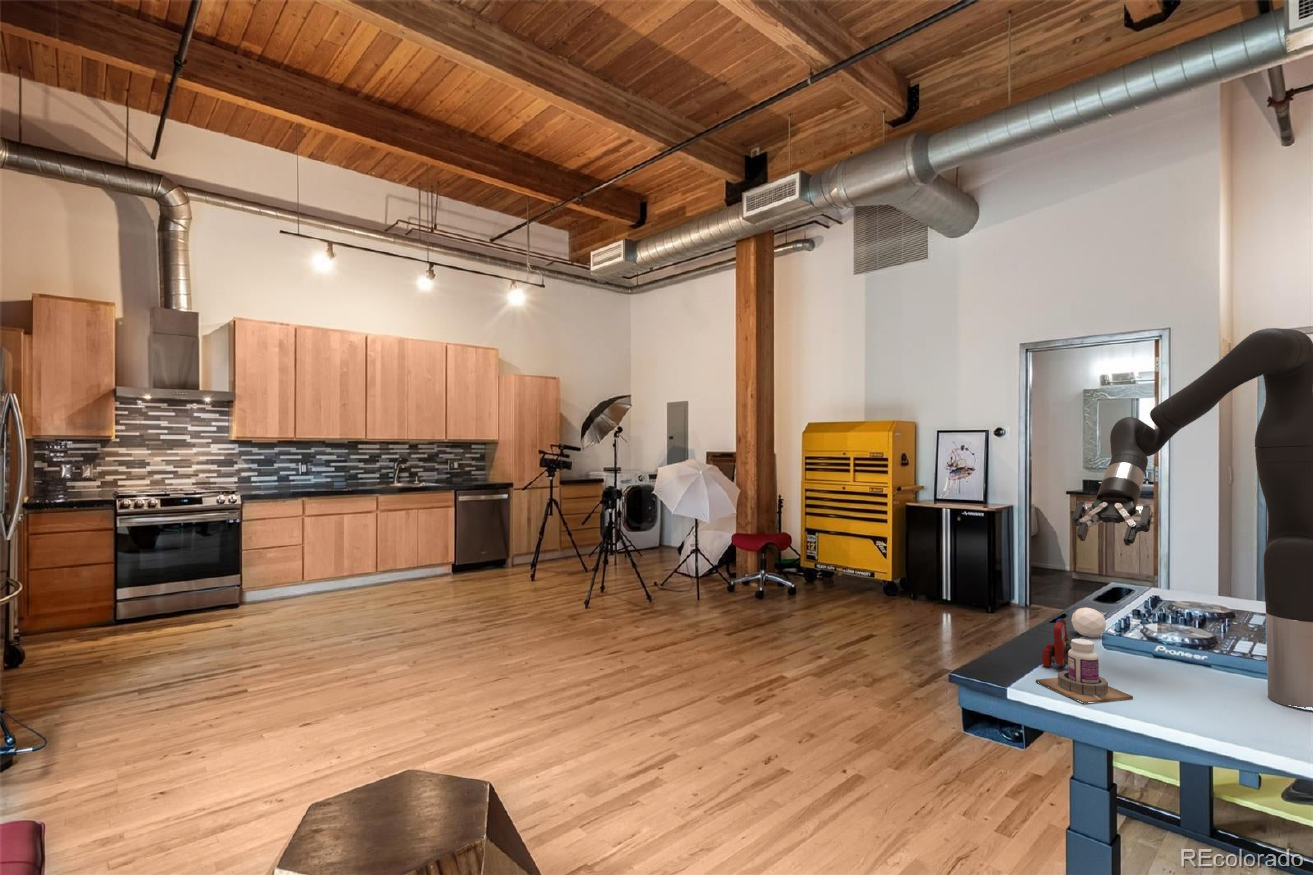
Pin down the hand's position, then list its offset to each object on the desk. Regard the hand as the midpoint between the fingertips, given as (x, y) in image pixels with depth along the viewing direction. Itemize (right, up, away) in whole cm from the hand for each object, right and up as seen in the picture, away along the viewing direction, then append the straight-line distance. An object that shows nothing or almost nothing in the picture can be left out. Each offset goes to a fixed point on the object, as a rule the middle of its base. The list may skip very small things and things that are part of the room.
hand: (1103, 541), depth 137 cm
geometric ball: (+19, -31, +31) cm, 48 cm away
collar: (-9, -31, -6) cm, 32 cm away
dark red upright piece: (-3, -31, +9) cm, 33 cm away
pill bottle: (-8, -30, -5) cm, 32 cm away
